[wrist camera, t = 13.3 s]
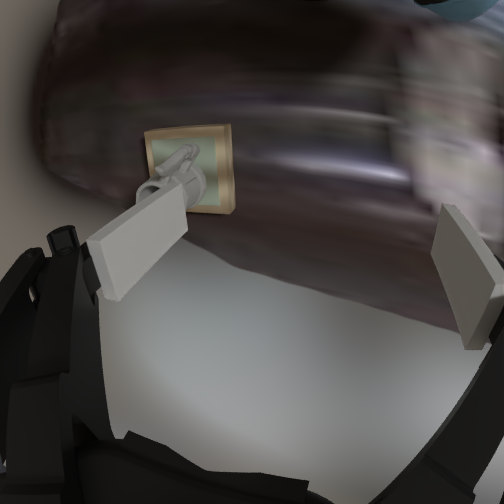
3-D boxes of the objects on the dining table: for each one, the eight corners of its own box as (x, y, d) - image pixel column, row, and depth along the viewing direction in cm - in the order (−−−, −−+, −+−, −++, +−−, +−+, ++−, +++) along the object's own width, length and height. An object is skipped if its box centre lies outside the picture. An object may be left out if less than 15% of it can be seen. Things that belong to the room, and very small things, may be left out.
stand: (153, 129, 48) (142, 132, 45) (230, 123, 44) (222, 126, 41) (163, 204, 55) (154, 211, 52) (235, 207, 51) (228, 215, 48)
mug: (160, 190, 49) (117, 220, 39) (184, 127, 43) (137, 142, 33) (198, 212, 49) (161, 248, 39) (227, 149, 43) (190, 171, 33)
